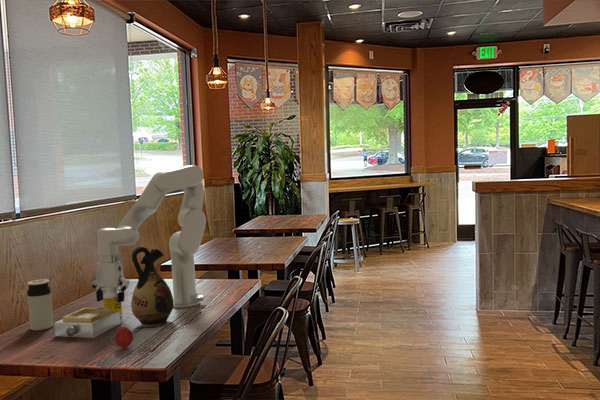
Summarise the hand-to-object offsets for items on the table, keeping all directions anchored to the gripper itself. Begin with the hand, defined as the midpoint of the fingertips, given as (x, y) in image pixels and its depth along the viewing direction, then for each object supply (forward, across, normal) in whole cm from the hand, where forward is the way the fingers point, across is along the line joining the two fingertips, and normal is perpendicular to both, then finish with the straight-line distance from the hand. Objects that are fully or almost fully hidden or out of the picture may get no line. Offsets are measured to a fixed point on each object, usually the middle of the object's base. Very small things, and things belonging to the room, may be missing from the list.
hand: (110, 301), depth 201 cm
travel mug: (+8, +20, +14) cm, 26 cm away
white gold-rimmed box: (+7, -1, +14) cm, 16 cm away
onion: (+7, -27, +30) cm, 41 cm away
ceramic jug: (+7, -22, +5) cm, 23 cm away
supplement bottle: (+7, -1, -1) cm, 7 cm away
